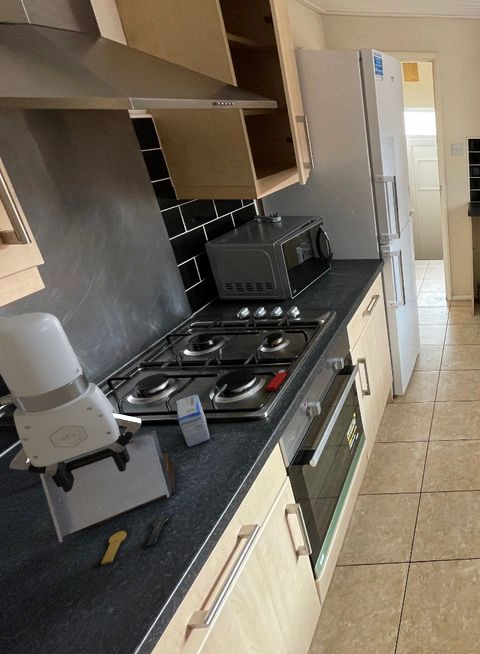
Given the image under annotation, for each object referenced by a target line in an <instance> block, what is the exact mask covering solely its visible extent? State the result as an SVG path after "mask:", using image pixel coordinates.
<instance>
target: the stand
mask: <svg viewBox="0 0 480 654" xmlns="http://www.w3.org/2000/svg"><path fill="white" fill-rule="evenodd" d="M162 456H163V460H164V463H165V467H166V470H167V474H168V477H169V481H170V484H171V488H172V493H171V495H172V494H175V492H176V491H175V489H176V488H175V486H176V485H175V483H176V482H175V481H176V480H175V477H176V476H175V475H176V474H175V472H176V470H175V467H174V465H173V462H172V460H171V457H170V455H169V453H167V452H166V453H164V454H162ZM164 498H167V495H166V494H165V495H163V496H160V497H158V498H156V499H153V500H151V501H148V502H146V503H143V504H141V505H139V506H136V507H134V508H131V509H129V510H127V511H124V512H122V513H119V514H117V515H114V516H112V517H110V518H107V519H105V520H102V521H100V522H97V523H95V524H93V525H90V526H88V527H87V528H88V529H91V528H94V527H95V526H98V525H101V524H103V523H105V522H108V521H110V520H113V519H115V518H118V517H120V516H123V515H125V514H127V513H130V512H132V511H134V510H137V509H139V508H142V507H145V506H146V505H149V504H152V503H153V502H156V501H159V500H161V499H164Z"/></svg>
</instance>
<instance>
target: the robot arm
mask: <svg viewBox="0 0 480 654" xmlns="http://www.w3.org/2000/svg"><path fill="white" fill-rule="evenodd" d="M0 376H1V378H2V379H3V381H4V383H5V385H6V386H7V388H8V390H9V392H10V393H8V394H7V395H4V396H0V405H1V406H2V407H4V406H8V405H14V406H16V409H15V410H14V411H13V421H14V426H15V428H16V432H17V434H18V438H19V440H20V441H19V442H20V443H21V446H22V448H21V449H20V450H19V451H18V452H17V453H16V455H15V456H14V458H12V460H11V462H10V464H9V469H11V470H18V471H28V472H29V473H36V474H39V473H42V474H45V475H46V476H47V477H52V479H53V480H54V482H55V484H56V485H57V487H62V488H63V490H64V492H65V493H66V492H69V491H70V490H72V486H73V483H74V476H73V474H72V473H71V471H68V470H67V467H66V463H64V461H67V460H70V459H72V458H75V457H78V456H81V455H84V454H87V453H90V452H93V451H96V450H99V449H102V448H105V447H108V448H110V449H111V450H113V453H112V457H113V459H114V461H115V464H116V466H117V468H118V470H119V472H120V471H121V472H123V471H125V470H126V463H127V462H129V461H130V456H129V454H128V451H127V449H126V447H125V446H126V444H127V443H128V442H129V441H130V439H131V438H134V437H133V436H134V435H135V434H136V433H137V431H138V430H139V429H140V428H141V426H142V423H143V422H142V421H143V420H142V419H141V418H138V417H134V416H129V415H126V414H125V415H124V414H121V413H117V411H116V410H115V408H114V406H113V404H112V403H111V402H110V400H109V398H107V396H106V395H105V393H104V392H103V391H102V389H100V387H98V385H97V384H96V383H94V382H89V380H88V378H87V376H86V374H85V371H84V370H83V369H82V366H81V364H80V362H79V359H78V357H77V355H76V353H75V351H74V349H73V347H72V345H71V343H70V340H69V338H68V336H67V334H66V332H65V330H64V328H63V326H62V323H61V322H60V320H59V318H57V316H55V315H54V314H51V313H48V312H40V311H39V312H29V313H22V314H18V315H13V316H9V317H8V316H0ZM119 427H124V428H125V429H124V430H123V431H122V433H121V434H120V429H119Z"/></svg>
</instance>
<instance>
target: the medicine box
mask: <svg viewBox="0 0 480 654" xmlns="http://www.w3.org/2000/svg"><path fill="white" fill-rule="evenodd" d="M175 407H176V416H177V421H178V424H179V427H180V429H181V433H182V434H183V438H184V440H185V443H186V446H187V447H188V448H191V447H193V446H196V445H198V444H201V443H203V442H206V441H208V440H210V439H211V436H210V432H209V428H208V423H207V418H206V416H205V413H204V410H203V409H204V408H203V406H202V403H201V400H200V397H199V395H198V394H194V395H190V396H187V397H183V398H181V399H178V400H176V401H175Z"/></svg>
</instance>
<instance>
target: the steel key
mask: <svg viewBox="0 0 480 654" xmlns="http://www.w3.org/2000/svg"><path fill="white" fill-rule="evenodd" d="M169 521H170V517H169V515H167V514H163V515H160V516H158V517H157V518H156V519H154V520H153V522H152V527H153V528H152V531H151V533H150V535H149V538H148V540H147V543H146V547H152V546H155V545H157V544H158V541H159V539H160V536H161V533H162V531H163V529H164V527H165V526H166V525H167V524H168V522H169Z"/></svg>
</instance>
